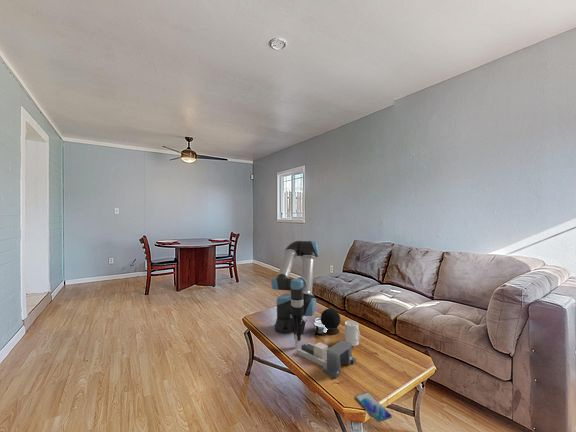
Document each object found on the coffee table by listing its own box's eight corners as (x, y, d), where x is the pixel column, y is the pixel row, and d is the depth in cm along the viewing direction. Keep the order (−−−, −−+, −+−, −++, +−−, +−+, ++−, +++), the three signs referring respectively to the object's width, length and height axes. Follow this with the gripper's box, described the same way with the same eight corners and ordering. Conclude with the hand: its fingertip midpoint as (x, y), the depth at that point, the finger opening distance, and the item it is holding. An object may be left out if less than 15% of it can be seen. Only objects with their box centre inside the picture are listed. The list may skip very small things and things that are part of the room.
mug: (365, 347, 156) (365, 326, 156) (353, 350, 153) (353, 329, 153) (353, 338, 167) (353, 319, 167) (341, 340, 164) (341, 321, 164)
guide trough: (296, 353, 150) (296, 349, 150) (308, 346, 158) (308, 342, 158) (328, 369, 135) (328, 364, 135) (340, 360, 143) (340, 355, 143)
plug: (300, 351, 152) (300, 339, 152) (305, 348, 156) (305, 336, 156) (322, 362, 141) (322, 349, 141) (328, 358, 145) (327, 345, 145)
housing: (322, 371, 133) (322, 351, 132) (342, 356, 146) (342, 337, 146) (335, 378, 127) (335, 357, 127) (355, 362, 141) (355, 342, 141)
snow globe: (316, 330, 179) (316, 308, 178) (329, 325, 187) (329, 304, 187) (331, 337, 168) (331, 314, 168) (344, 331, 177) (344, 309, 177)
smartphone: (368, 391, 117) (392, 416, 103) (368, 393, 117) (392, 418, 103) (354, 395, 114) (377, 421, 100) (354, 397, 114) (377, 423, 100)
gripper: (284, 304, 158) (285, 343, 158) (301, 310, 149) (301, 351, 149) (293, 301, 164) (293, 339, 164) (309, 306, 154) (310, 346, 155)
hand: (297, 345), depth 157 cm, fingers closed
